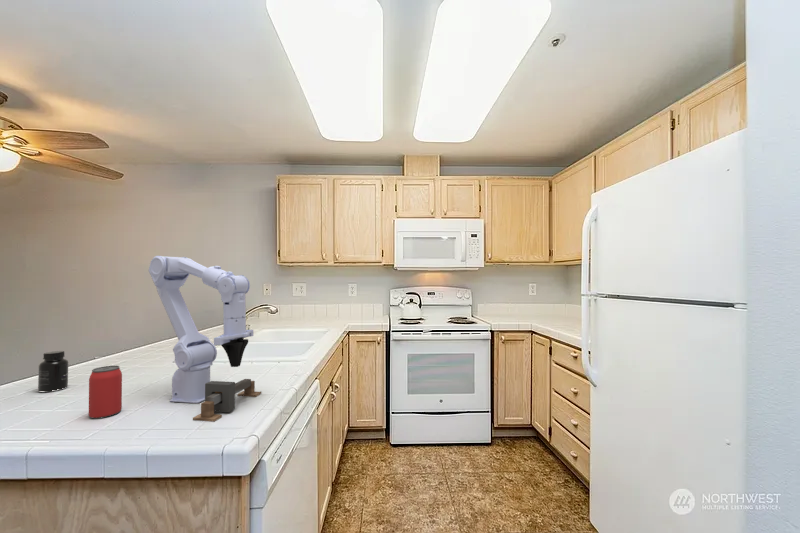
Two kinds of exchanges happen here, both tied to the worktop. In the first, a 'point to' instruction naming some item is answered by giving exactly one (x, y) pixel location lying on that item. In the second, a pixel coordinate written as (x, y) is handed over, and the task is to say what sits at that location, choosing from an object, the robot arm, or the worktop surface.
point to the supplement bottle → (53, 372)
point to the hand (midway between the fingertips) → (235, 366)
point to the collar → (227, 394)
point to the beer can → (105, 391)
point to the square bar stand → (215, 398)
